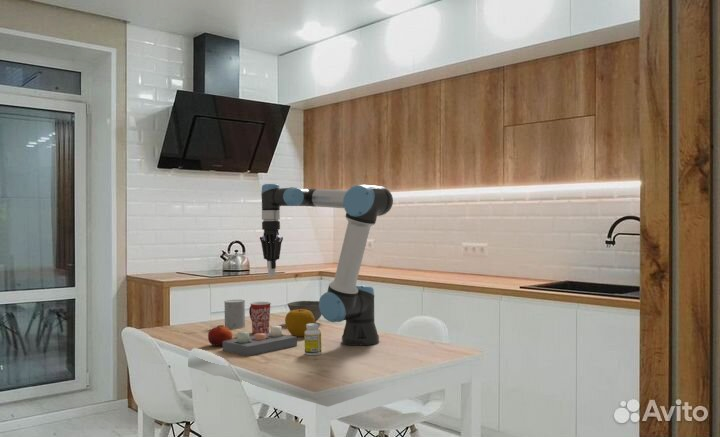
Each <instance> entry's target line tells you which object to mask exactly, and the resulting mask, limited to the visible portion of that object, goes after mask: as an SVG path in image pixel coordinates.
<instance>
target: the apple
mask: <svg viewBox="0 0 720 437" xmlns="http://www.w3.org/2000/svg"><path fill="white" fill-rule="evenodd" d="M284 320H285V321H284V323H285V327H286V329H287V331H288V332H289V333H290V334H291V336H295V337H297V338H304V333H305V331H306V330H307V328H306V324H311V323H316V322H315V318H314V316H313V314H312V312H311V311H309V310H306V309H297V310H292V311H290V310H289V312H287V314H286V316H285V319H284Z"/></svg>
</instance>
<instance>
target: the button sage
mask: <svg viewBox="0 0 720 437" xmlns="http://www.w3.org/2000/svg"><path fill="white" fill-rule="evenodd" d="M236 334H237V338H236V339H238V343H239V344H245V343H249V336H250V332H249V331H238V332H237V333H236Z"/></svg>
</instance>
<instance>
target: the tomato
mask: <svg viewBox="0 0 720 437" xmlns="http://www.w3.org/2000/svg"><path fill="white" fill-rule="evenodd" d="M207 334H208V335H207V339H208V342H209V344H210V345H212V346H220V347H223V341H227V340H232V339H233V333H232V331H231V329H228V328H227V327H225V324H219V325H217V326H216V327H213V328H212V329H210V331H209V332H208V333H207Z"/></svg>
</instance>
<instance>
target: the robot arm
mask: <svg viewBox="0 0 720 437" xmlns="http://www.w3.org/2000/svg"><path fill="white" fill-rule="evenodd" d="M260 195H261V220H263V221H261V230H263V235H262V236H260V237H259V241H260V243H261V250H262V255H263V260H266V261H267V263H266V264H267V277H269V278H270V277H271V278H272V277H276V269H277V266H276V265H277V260H280V256H281V249H282V242H283V239H284V238H283V236H281V235H280V232H279V230H281V222H280V216H281V214H280V213H281V211H280V210H281V209H280V208H281V207H313V208H317V207H318V208H319V207H320V208H330V209H331V208H333V209H334V208H335V209H344V211H345V219H346V220H347V224H346V225H347V227H346V230H345V234H344V238H343V242H342V247H341V251H340V253H339V254H340V255H339V258H338V263H337V266H336V267H337V268H336V271H335V275H334V280H332V281H331V282H329V284H328V287H327V292H324V293H323V294H322V295H321V296H320V298H319V300H318V301H319V309H320V312H321V313H322V315H321V317H323V318H324V319H325V320H326V321H327V322H330V323H340V322H344V321H345V326H344V328H343V332H342V333H343V334H342V335H341V343H342V344H344V345H348V346H370V345H375V344H378V343H379V342H380V336H379V334H378V330H377V327H376V323H375V291H374V289H375V288H373V286H369V285H367V286H366V285H357V281H358V278H359V274H360V269H361V266H362V261H363V257H364V255H365V250H366V246H367V241H368V237H369V234H370V230H371V227H373V226H374V225H376V222H377V218H378V216H379V217H380V216H385V215H386V214H387V213H388V212H390V211H391V209H392V207H393V204H394V199H393V194H392V193H391V191H390V190H389V189H388V188H386V187H384V186H381V185H370V184H358V185H353V186H351V187H349V189H323V188H322V189H320V188H319V189H318V188H300V187H294V186H291V187H282V188H280V185H279V184H278V183H264V184H262V185H261V194H260Z"/></svg>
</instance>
